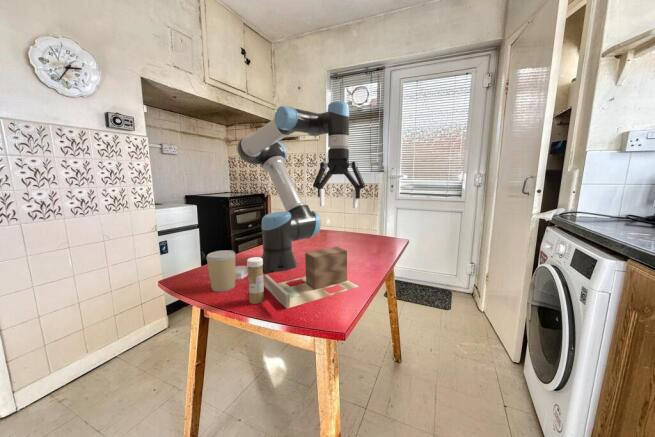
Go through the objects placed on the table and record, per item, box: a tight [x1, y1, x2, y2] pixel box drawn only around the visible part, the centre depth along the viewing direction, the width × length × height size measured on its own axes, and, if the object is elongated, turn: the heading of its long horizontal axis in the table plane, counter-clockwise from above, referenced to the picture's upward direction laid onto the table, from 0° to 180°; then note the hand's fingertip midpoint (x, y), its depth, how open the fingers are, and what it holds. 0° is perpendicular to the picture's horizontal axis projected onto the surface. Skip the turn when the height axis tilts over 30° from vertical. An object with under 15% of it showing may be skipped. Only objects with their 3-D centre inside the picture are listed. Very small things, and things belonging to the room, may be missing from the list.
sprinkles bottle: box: [246, 256, 265, 305], centre depth 78 cm, size 5×5×14 cm
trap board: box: [263, 274, 360, 310], centre depth 85 cm, size 26×18×6 cm
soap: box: [235, 265, 249, 280], centre depth 101 cm, size 9×7×3 cm
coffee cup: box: [205, 249, 237, 293], centre depth 89 cm, size 9×9×12 cm
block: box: [304, 246, 348, 290], centre depth 88 cm, size 13×6×11 cm, turn 123°
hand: (338, 206), depth 97 cm, fingers open, 13 cm apart
